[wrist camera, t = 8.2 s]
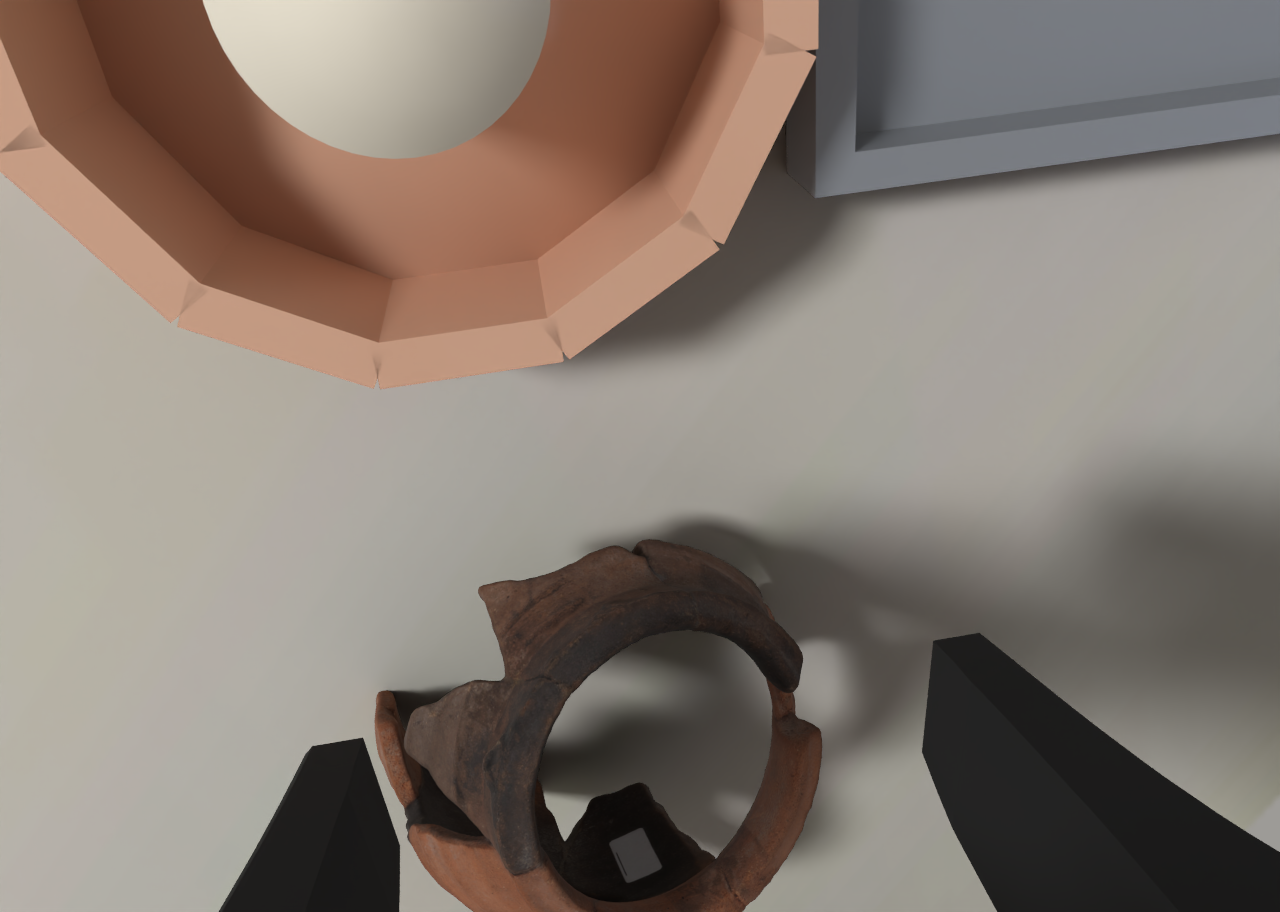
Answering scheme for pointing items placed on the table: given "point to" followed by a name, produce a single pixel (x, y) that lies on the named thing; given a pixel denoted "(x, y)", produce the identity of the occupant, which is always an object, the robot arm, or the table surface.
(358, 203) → the terracotta bowl
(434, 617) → the table surface
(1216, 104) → the parts tray
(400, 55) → the cream rounded cylinder
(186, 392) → the table surface
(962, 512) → the table surface
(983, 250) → the table surface
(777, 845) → the broken clay pot
